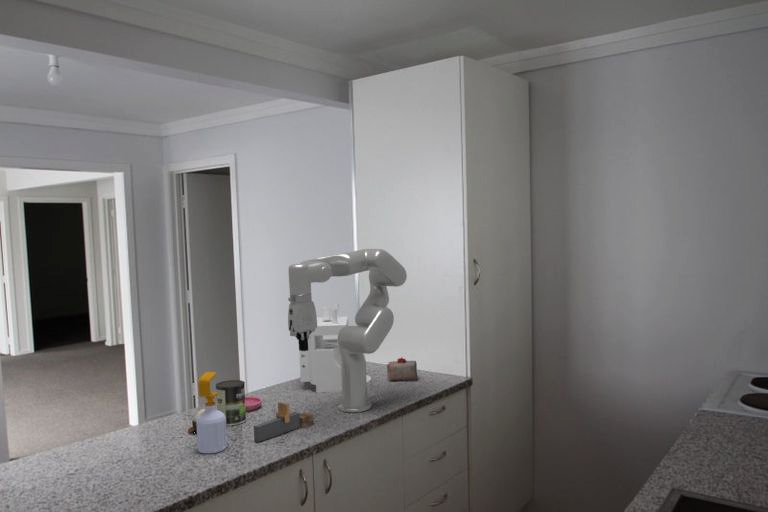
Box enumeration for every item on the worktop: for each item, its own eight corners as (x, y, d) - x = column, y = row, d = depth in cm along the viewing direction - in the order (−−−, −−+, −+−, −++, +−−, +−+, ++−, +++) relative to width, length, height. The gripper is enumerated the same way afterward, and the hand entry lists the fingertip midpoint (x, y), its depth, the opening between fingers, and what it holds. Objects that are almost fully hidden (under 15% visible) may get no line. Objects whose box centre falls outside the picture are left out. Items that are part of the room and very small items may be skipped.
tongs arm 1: (295, 425, 212) (295, 411, 212) (297, 426, 212) (297, 412, 212) (254, 440, 199) (253, 425, 198) (256, 441, 198) (255, 426, 198)
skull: (196, 420, 220) (213, 400, 218) (216, 441, 218) (233, 421, 216) (177, 430, 208) (194, 409, 206) (198, 452, 206) (215, 431, 204)
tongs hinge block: (305, 421, 217) (305, 412, 217) (313, 424, 214) (313, 414, 214) (294, 425, 213) (294, 415, 213) (303, 428, 211) (302, 418, 210)
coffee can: (251, 417, 224) (249, 380, 224) (238, 426, 214) (237, 387, 214) (225, 416, 227) (223, 379, 226) (212, 425, 216) (210, 386, 216)
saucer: (267, 409, 235) (267, 401, 234) (236, 415, 227) (236, 407, 227) (254, 402, 245) (254, 394, 245) (224, 408, 238) (224, 400, 237)
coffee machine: (305, 379, 278) (301, 304, 277) (370, 376, 279) (367, 301, 277) (299, 394, 254) (295, 312, 253) (371, 390, 255) (367, 308, 253)
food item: (386, 382, 268) (386, 360, 268) (387, 377, 276) (386, 356, 276) (417, 381, 268) (417, 359, 267) (417, 377, 276) (416, 355, 275)
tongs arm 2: (298, 426, 212) (297, 412, 211) (300, 427, 211) (299, 413, 211) (256, 441, 198) (255, 426, 198) (258, 442, 197) (257, 427, 197)
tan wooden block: (280, 419, 209) (280, 401, 208) (289, 421, 206) (288, 404, 205) (276, 420, 207) (275, 403, 207) (285, 423, 204) (284, 405, 204)
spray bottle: (232, 445, 196) (229, 370, 195) (216, 455, 188) (212, 377, 186) (209, 442, 199) (205, 369, 198) (191, 452, 191) (188, 376, 189)
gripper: (291, 302, 204) (294, 356, 205) (323, 296, 215) (326, 347, 216) (277, 301, 209) (280, 353, 210) (309, 295, 220) (312, 345, 221)
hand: (303, 350), depth 213 cm, fingers closed
